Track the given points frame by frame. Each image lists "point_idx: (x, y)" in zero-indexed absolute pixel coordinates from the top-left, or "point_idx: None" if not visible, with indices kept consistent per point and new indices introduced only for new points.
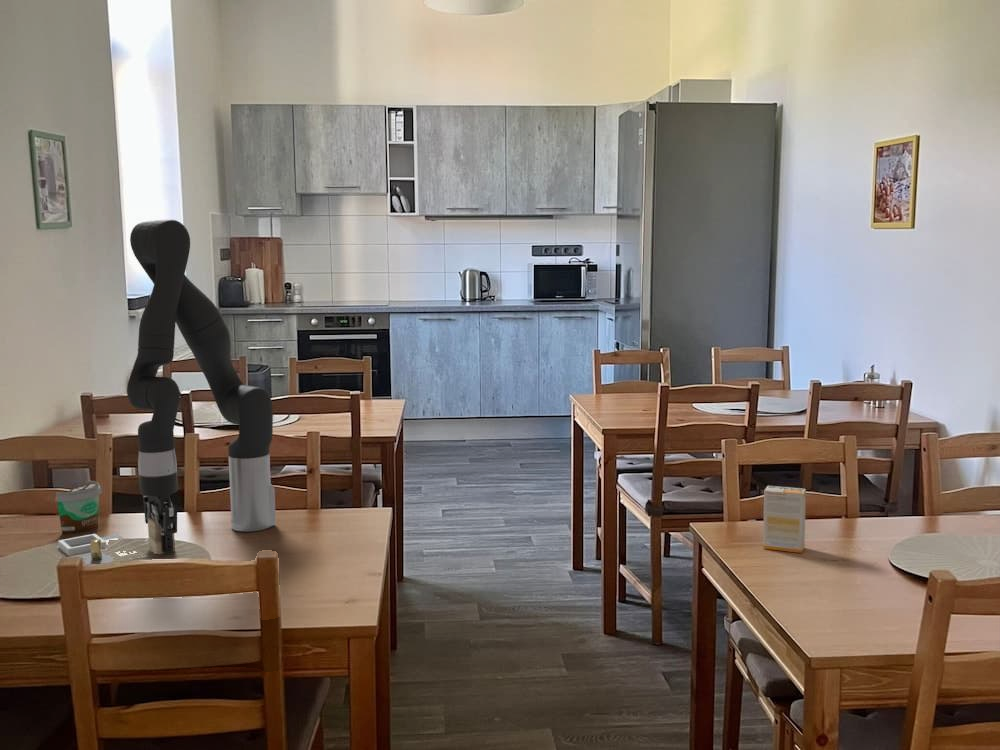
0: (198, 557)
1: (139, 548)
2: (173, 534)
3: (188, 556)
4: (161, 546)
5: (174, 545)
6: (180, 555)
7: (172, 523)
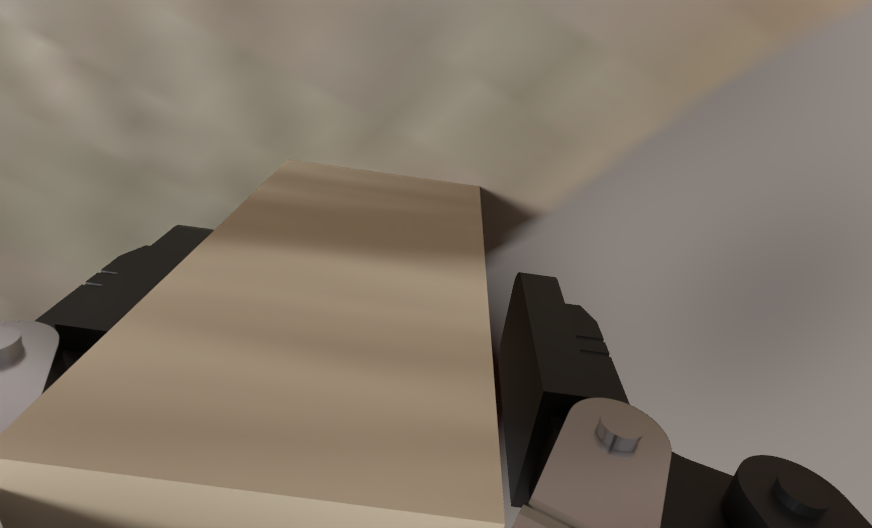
0: (749, 50)
1: (43, 293)
2: (488, 311)
3: (618, 109)
4: (503, 400)
5: (482, 231)
6: (518, 150)
7: (490, 451)
